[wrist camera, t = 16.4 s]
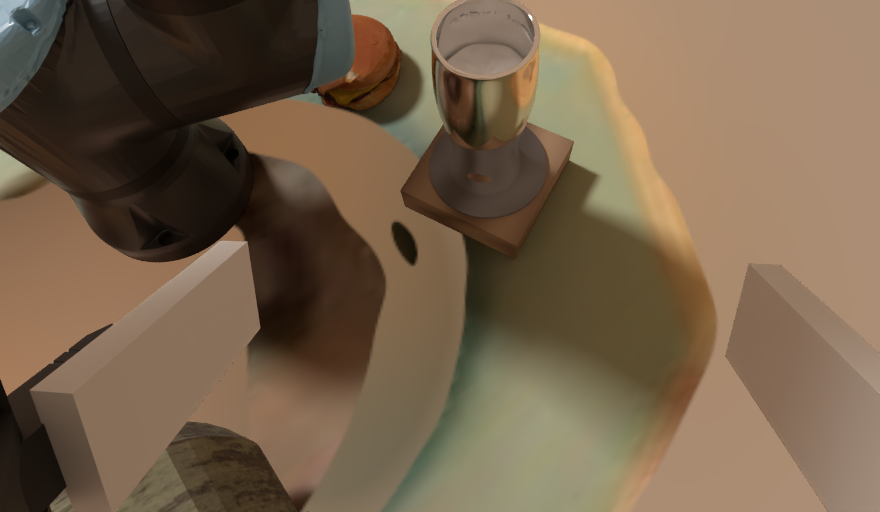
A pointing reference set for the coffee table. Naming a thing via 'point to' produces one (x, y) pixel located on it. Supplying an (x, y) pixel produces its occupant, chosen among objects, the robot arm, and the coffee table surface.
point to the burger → (366, 68)
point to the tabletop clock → (205, 477)
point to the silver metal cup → (485, 88)
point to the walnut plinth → (492, 216)
